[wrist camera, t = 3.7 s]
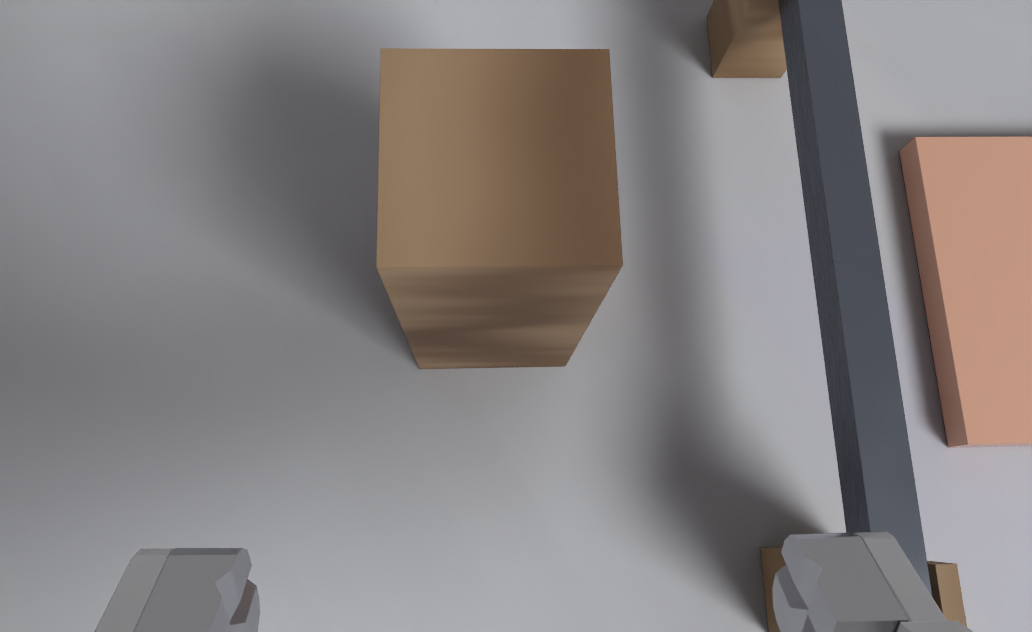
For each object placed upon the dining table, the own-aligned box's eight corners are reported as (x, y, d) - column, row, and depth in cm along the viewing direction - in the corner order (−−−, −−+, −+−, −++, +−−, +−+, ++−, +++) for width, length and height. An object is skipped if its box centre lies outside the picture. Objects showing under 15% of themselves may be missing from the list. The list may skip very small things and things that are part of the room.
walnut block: (419, 368, 24) (376, 267, 14) (420, 231, 25) (380, 48, 15) (565, 366, 24) (623, 264, 14) (559, 230, 25) (609, 49, 15)
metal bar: (864, 676, 18) (892, 688, 17) (767, -84, 23) (782, -116, 22) (915, 674, 18) (945, 686, 17) (806, -83, 23) (824, -115, 22)
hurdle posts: (762, 635, 22) (849, 673, 17) (701, 17, 27) (753, -102, 22) (857, 631, 22) (973, 668, 17) (778, 17, 27) (849, -101, 22)
